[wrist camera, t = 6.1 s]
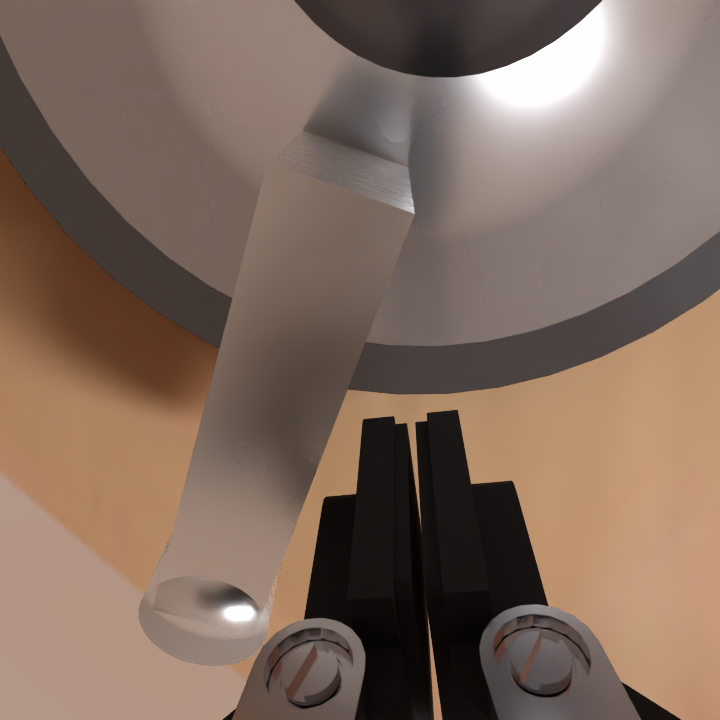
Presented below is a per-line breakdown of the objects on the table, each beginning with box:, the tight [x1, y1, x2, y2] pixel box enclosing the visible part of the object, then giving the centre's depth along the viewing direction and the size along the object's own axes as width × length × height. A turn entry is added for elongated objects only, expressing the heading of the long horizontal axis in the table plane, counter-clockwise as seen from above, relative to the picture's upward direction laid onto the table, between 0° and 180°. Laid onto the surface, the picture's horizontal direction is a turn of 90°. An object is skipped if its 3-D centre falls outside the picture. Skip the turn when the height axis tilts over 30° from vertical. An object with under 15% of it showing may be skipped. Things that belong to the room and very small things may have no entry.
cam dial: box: [0, 0, 720, 666], centre depth 8 cm, size 17×12×4 cm
